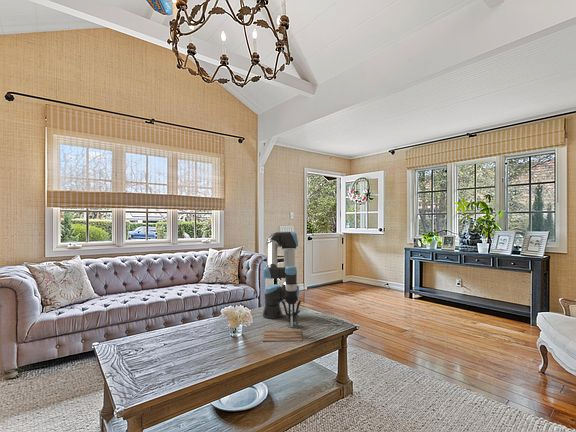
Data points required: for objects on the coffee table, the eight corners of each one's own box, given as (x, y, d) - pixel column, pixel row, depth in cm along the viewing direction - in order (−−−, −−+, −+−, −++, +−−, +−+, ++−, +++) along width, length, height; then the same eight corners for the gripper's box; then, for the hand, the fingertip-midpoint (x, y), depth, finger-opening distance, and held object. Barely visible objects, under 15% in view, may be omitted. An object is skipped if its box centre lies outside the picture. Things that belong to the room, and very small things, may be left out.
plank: (264, 331, 207) (264, 329, 207) (300, 330, 207) (300, 328, 207) (263, 336, 198) (263, 335, 198) (301, 336, 199) (301, 334, 199)
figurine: (302, 329, 211) (301, 311, 211) (286, 329, 211) (286, 311, 211) (301, 323, 222) (301, 306, 222) (286, 323, 222) (286, 307, 222)
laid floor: (263, 337, 198) (263, 335, 198) (301, 336, 198) (301, 334, 198) (262, 342, 189) (262, 340, 189) (302, 342, 190) (302, 339, 190)
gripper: (281, 291, 200) (281, 328, 200) (301, 291, 200) (302, 327, 200) (281, 288, 208) (281, 324, 207) (300, 288, 208) (301, 323, 208)
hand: (291, 325), depth 204 cm, fingers closed
